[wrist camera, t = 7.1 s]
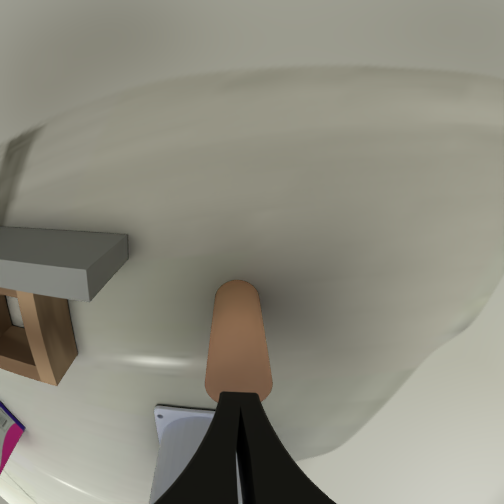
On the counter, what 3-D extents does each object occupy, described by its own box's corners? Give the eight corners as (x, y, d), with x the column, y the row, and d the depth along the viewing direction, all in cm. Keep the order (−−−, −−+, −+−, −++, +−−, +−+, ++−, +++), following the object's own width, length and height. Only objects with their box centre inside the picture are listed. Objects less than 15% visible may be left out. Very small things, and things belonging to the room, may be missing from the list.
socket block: (77, 354, 21) (57, 386, 17) (5, 336, 20) (-19, 360, 16) (61, 256, 18) (30, 278, 14) (-15, 248, 18) (-47, 265, 14)
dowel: (257, 320, 20) (268, 408, 13) (213, 318, 20) (204, 405, 12) (261, 281, 19) (276, 360, 12) (216, 278, 19) (205, 357, 12)
